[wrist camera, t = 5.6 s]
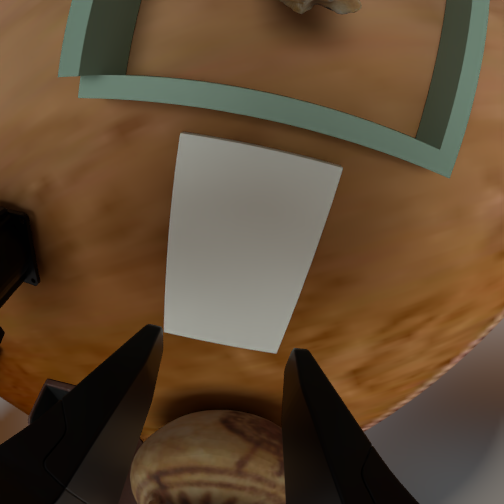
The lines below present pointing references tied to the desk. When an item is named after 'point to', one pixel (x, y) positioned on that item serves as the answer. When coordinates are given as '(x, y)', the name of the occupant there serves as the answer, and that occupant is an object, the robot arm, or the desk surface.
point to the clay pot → (211, 461)
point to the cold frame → (277, 106)
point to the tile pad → (242, 239)
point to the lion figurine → (341, 3)
